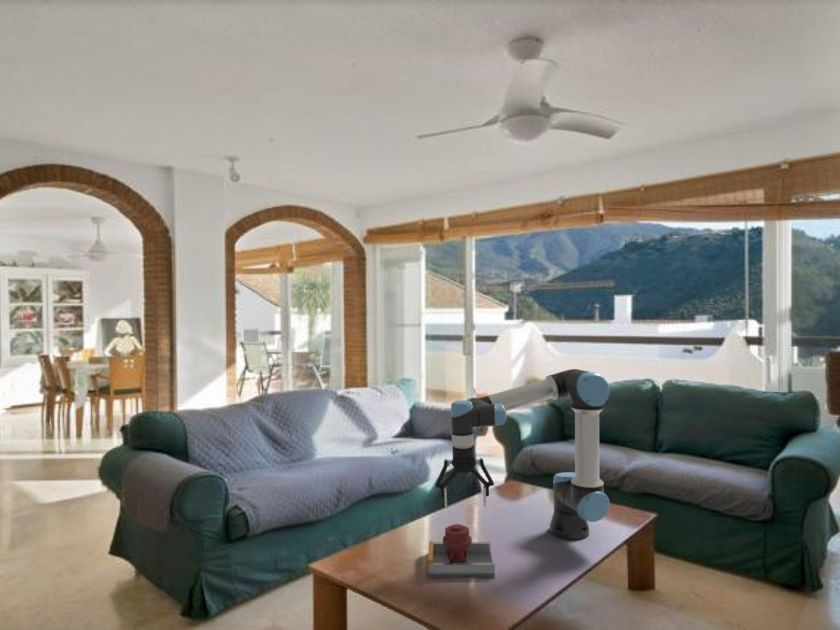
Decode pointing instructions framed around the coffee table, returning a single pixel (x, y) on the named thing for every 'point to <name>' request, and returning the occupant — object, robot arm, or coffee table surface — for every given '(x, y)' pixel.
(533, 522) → the coffee table surface
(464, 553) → the mechanical component
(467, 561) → the grey piece
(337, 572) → the coffee table surface
